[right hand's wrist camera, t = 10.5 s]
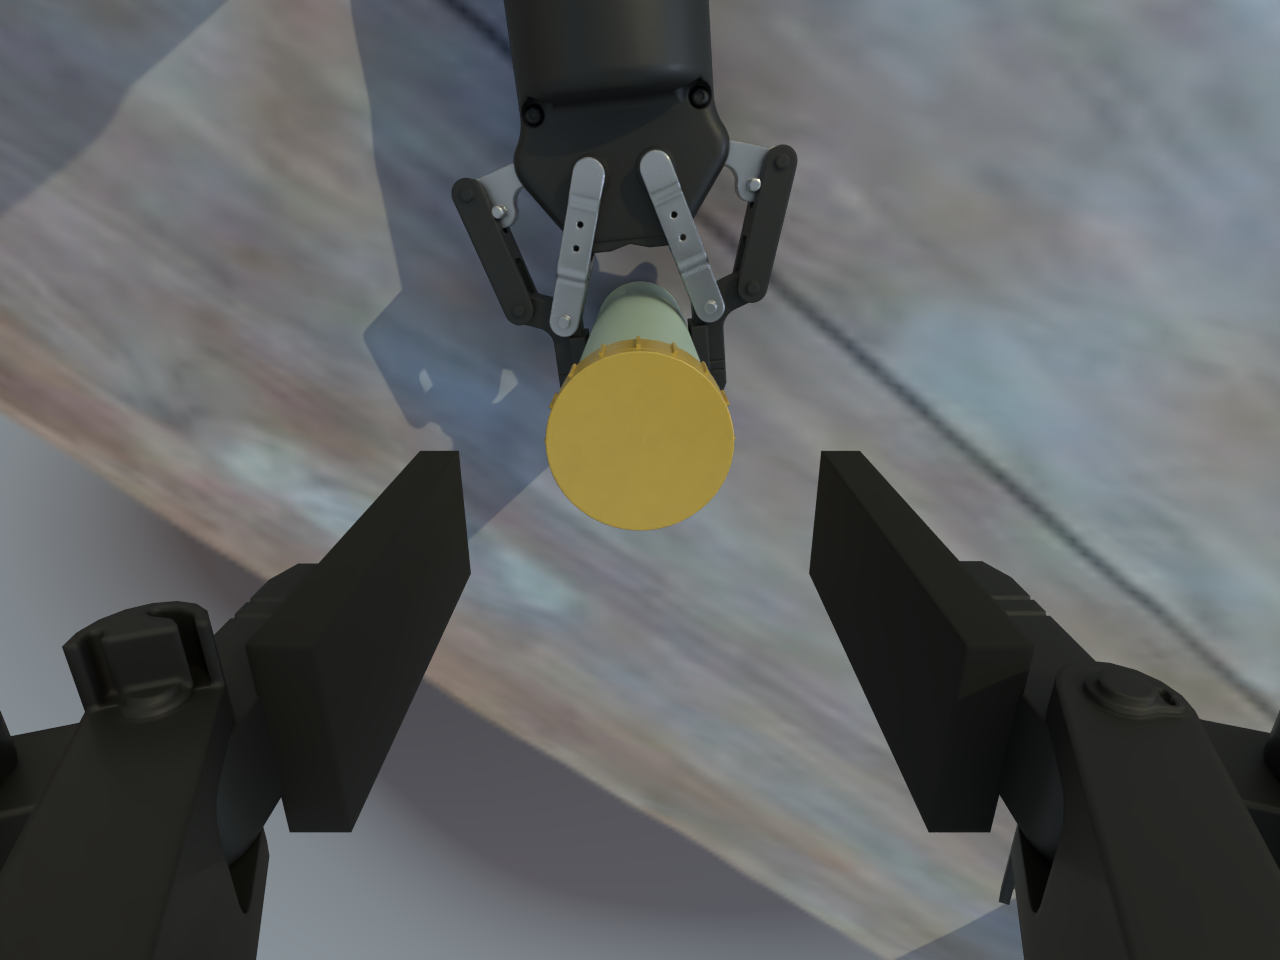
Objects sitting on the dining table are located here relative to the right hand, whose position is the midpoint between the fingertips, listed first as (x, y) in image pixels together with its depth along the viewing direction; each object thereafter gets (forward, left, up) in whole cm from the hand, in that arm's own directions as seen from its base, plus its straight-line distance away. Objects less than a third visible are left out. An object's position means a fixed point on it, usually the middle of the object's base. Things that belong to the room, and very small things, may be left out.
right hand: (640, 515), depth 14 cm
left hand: (-3, -1, -18) cm, 18 cm away
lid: (0, 0, -5) cm, 5 cm away
